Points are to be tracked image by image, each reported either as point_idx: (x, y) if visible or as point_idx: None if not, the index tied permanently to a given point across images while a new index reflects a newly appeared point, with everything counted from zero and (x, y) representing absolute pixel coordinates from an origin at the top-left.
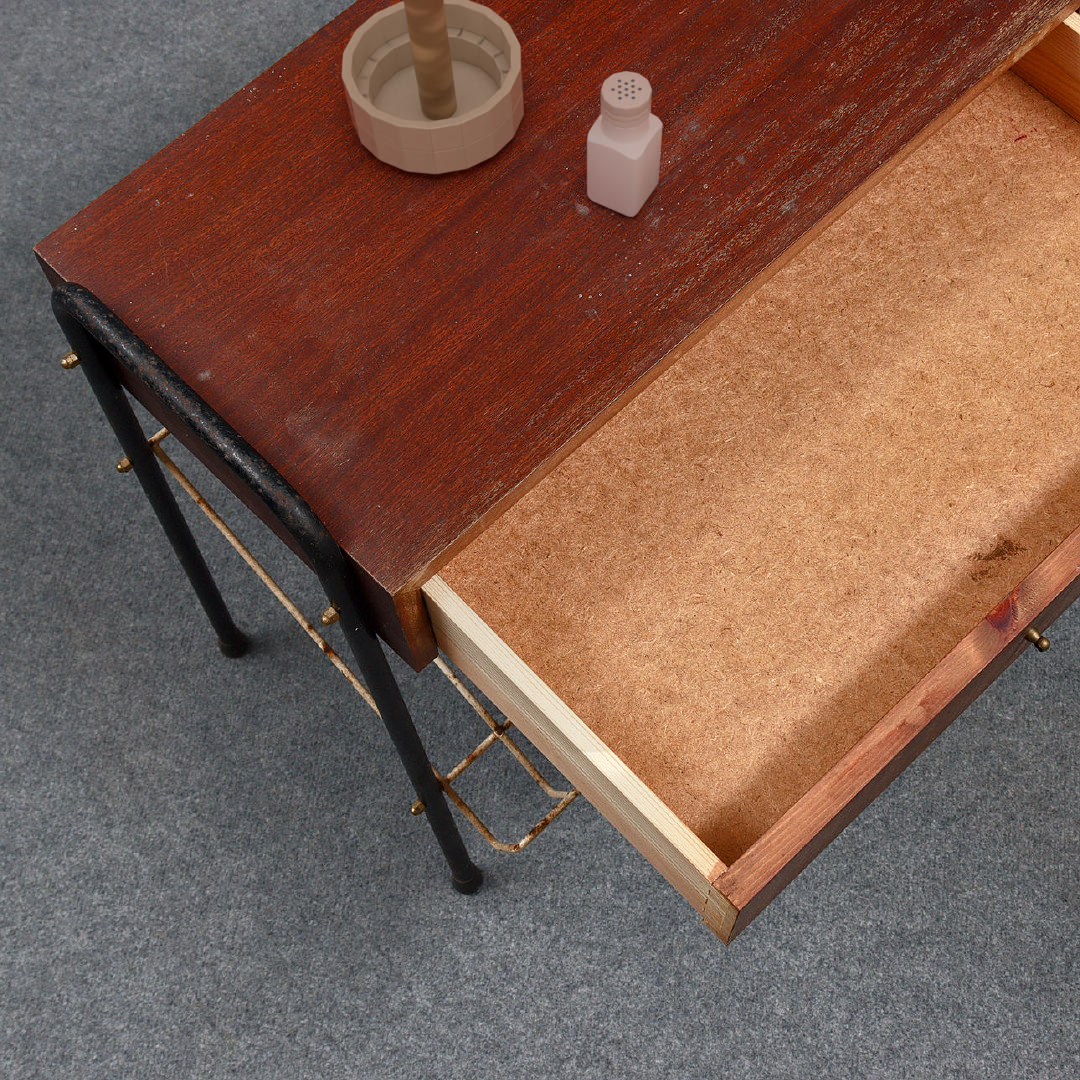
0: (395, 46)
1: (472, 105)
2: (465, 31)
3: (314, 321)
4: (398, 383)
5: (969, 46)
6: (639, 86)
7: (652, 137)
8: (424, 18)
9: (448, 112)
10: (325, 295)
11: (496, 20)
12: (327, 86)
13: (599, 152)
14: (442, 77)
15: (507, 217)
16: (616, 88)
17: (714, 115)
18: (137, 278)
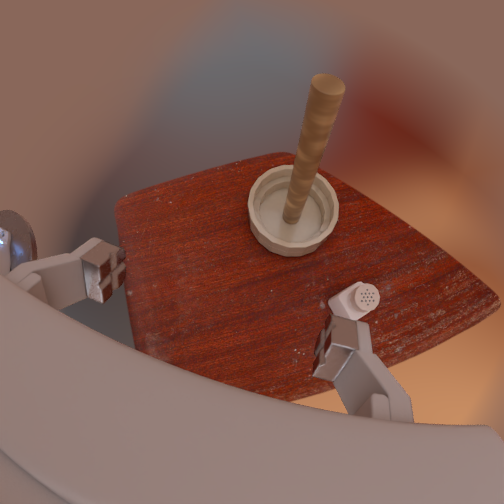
0: (286, 180)
1: (305, 223)
2: (320, 190)
3: (180, 294)
4: (196, 346)
5: (484, 305)
6: (374, 299)
7: (366, 313)
8: (295, 195)
9: (292, 223)
10: (191, 284)
11: (334, 199)
12: (252, 178)
13: (340, 304)
14: (295, 214)
15: (288, 290)
16: (363, 294)
17: (398, 286)
18: (131, 231)
